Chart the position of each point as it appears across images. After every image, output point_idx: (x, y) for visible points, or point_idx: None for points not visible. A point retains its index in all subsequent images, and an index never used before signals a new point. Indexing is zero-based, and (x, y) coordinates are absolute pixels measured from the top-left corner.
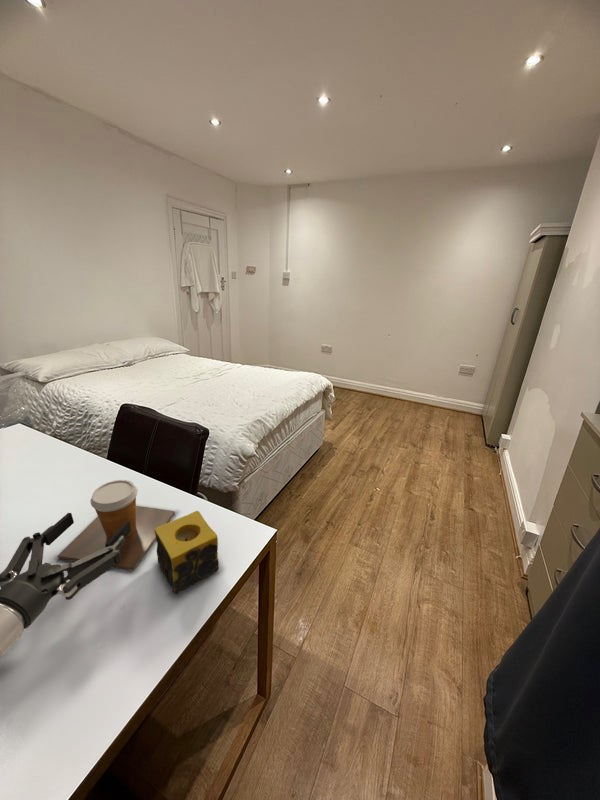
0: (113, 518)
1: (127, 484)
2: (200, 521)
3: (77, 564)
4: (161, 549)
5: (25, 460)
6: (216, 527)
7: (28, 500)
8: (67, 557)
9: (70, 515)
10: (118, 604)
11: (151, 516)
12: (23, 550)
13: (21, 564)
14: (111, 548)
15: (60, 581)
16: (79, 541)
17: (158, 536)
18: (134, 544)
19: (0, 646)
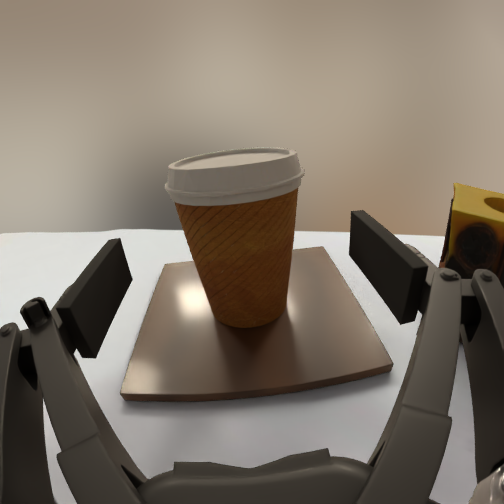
0: (269, 235)
1: (247, 153)
2: (489, 192)
3: (443, 387)
4: (492, 262)
5: (7, 254)
6: (424, 250)
7: (17, 294)
8: (152, 395)
9: (119, 246)
10: (455, 449)
11: None
12: (7, 382)
13: (34, 454)
14: (455, 273)
15: None
16: (152, 348)
17: (488, 220)
18: (321, 318)
19: None
